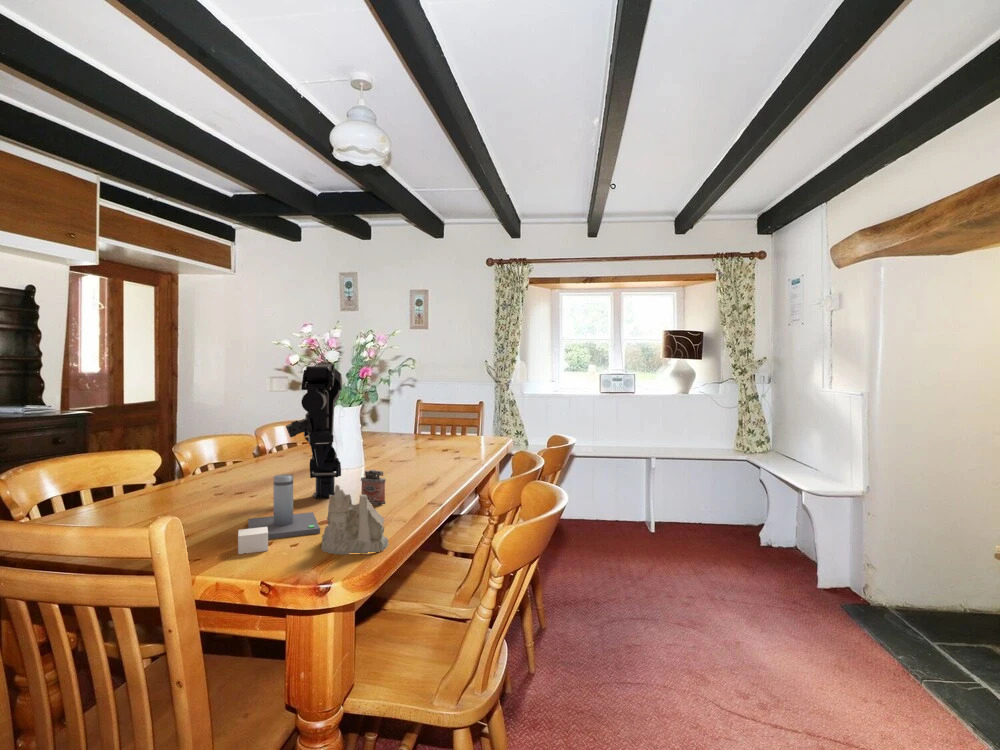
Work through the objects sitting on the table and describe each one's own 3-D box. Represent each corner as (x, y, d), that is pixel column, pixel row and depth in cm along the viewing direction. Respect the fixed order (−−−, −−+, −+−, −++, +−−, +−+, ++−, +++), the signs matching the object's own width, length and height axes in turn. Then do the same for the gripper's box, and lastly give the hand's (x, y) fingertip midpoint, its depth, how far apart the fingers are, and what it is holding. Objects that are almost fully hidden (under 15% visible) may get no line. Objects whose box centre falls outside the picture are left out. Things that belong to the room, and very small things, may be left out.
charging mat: (239, 524, 139) (239, 508, 139) (313, 516, 147) (313, 501, 146) (238, 554, 117) (238, 536, 117) (324, 543, 124) (324, 526, 124)
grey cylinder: (269, 523, 135) (269, 476, 135) (285, 519, 139) (286, 473, 139) (280, 527, 133) (280, 478, 133) (296, 522, 137) (297, 475, 136)
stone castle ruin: (379, 556, 116) (378, 486, 117) (307, 555, 118) (307, 486, 119) (401, 538, 132) (400, 476, 132) (337, 537, 134) (337, 476, 134)
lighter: (358, 503, 161) (358, 470, 161) (364, 500, 164) (365, 468, 164) (381, 505, 158) (381, 472, 158) (387, 503, 162) (387, 470, 161)
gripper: (285, 408, 158) (285, 460, 158) (290, 413, 141) (289, 472, 142) (325, 407, 163) (324, 458, 163) (333, 412, 146) (333, 469, 146)
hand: (317, 464), depth 153 cm, fingers open, 9 cm apart
